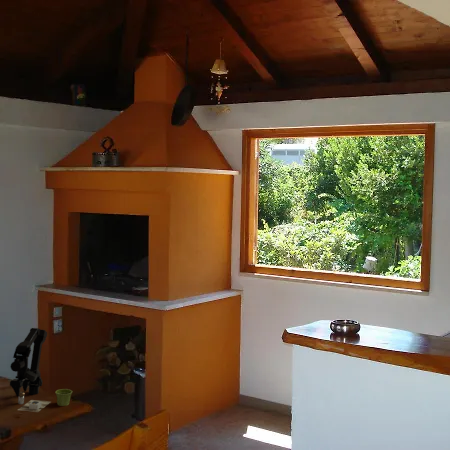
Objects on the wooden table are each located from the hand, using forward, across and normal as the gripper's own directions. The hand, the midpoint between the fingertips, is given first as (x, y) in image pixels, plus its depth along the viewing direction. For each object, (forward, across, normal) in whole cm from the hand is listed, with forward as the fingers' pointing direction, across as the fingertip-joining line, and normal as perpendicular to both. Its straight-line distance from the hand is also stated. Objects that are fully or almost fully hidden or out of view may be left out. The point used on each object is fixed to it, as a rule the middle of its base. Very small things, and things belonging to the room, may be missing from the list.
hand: (21, 394), depth 349 cm
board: (+7, -2, -9) cm, 11 cm away
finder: (+5, -6, -11) cm, 14 cm away
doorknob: (+7, 0, 0) cm, 7 cm away
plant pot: (+7, +5, -23) cm, 25 cm away
